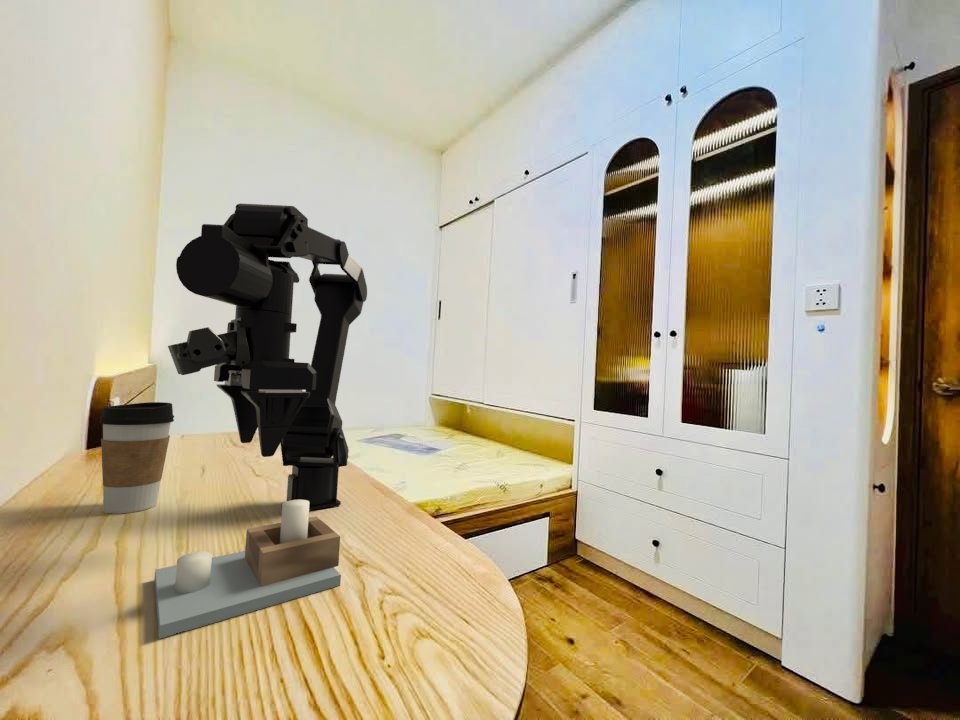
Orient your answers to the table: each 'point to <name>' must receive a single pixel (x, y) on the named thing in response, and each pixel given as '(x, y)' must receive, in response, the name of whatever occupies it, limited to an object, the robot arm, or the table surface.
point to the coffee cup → (134, 454)
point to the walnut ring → (290, 552)
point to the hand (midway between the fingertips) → (255, 449)
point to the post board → (231, 582)
